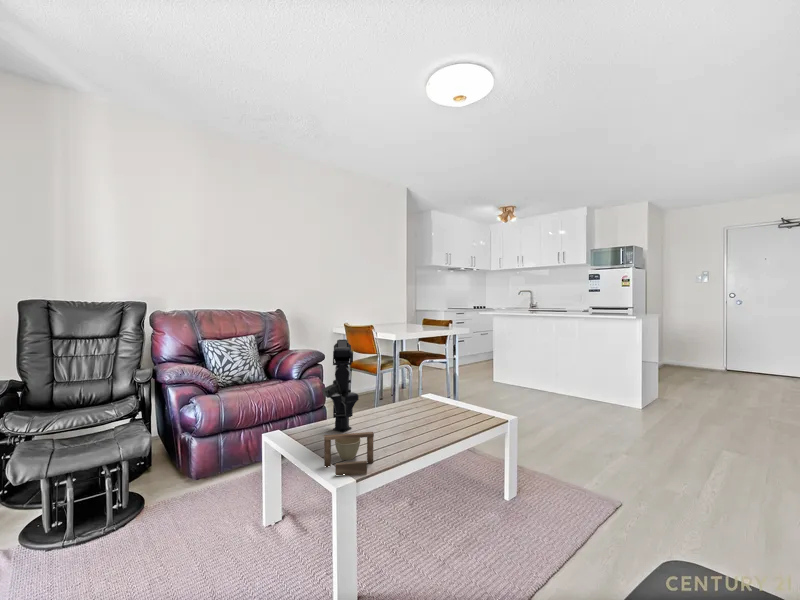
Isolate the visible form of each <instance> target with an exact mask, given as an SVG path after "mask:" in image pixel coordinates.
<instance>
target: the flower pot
mask: <svg viewBox="0 0 800 600" xmlns="http://www.w3.org/2000/svg"><path fill="white" fill-rule="evenodd" d="M361 439H362V438H349V439H336V440H334V443H335V448H336V451H337V452H338V455H339V457H340V458H341V459H342V460H344V461H350V460H353V459H355V457H356V455H357V453H358V451H359V448H360V445H361Z"/></svg>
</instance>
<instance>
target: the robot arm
mask: <svg viewBox="0 0 800 600" xmlns="http://www.w3.org/2000/svg"><path fill="white" fill-rule="evenodd" d="M348 341H349V340H348V339H343V338H342V339H337V341H336V343H335V344H333V351H332V352H333V353H332V366H335V369H334V370H335V371H334V378H335V379H333V380H332V384H330V385H327V386H326V387H323V388H322V389H321V391H322V395H323V397H324V398H326V399H328V398H329V399H331V401H332V403H333V408H332V411H333V412H332V413H333V414H332V415H333V419H335V421H334V427H333V428H332V430H333V431H337V432H340V433H344V432H346V431H349V430H351V429H352V427H351V426H350V418H352V417H353V411H354V410H353V409H354V406H355V405H356V403H357V402H358V401H359V400H360V399H359V394H358V393H356V392H352V390H351V389H350V383H352V380H351V379H350V366H352V364H353V363H354V360H353V359H354V358H353V357H354V354H353V352H352V345H351V344H350V343H349V342H348Z"/></svg>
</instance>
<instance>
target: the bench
mask: <svg viewBox="0 0 800 600" xmlns="http://www.w3.org/2000/svg"><path fill="white" fill-rule="evenodd" d="M349 438H360V439H362V438H366V460H358V461H347V462H336V463H335V465H334V466H335V471H334V472H335V474H336V475H343V474H345V475H346V476H354V475H357V476H358V475H364V474H366V475H367V473H368V471H367V470H368V464H373V463H374V438H375V433H374V431H367V432H366V431H364V432H363V431H362V432H350V433H349V432H348V433H337V434H336V433H335V434H325V435H323V439H324V440H323V441H324V442H323V443H324V444H323V445H324V446H323V450H324V451H323V453H324V455H323V457H324V458H323V462H324V463H323V466H326V467H325V468H329V467H328V466H330V467H331V466H332V441H333V440H334V441H335V440H336V439H349ZM336 475H335V476H336Z"/></svg>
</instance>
